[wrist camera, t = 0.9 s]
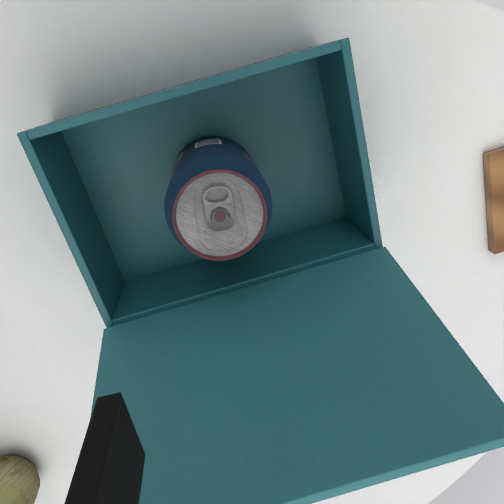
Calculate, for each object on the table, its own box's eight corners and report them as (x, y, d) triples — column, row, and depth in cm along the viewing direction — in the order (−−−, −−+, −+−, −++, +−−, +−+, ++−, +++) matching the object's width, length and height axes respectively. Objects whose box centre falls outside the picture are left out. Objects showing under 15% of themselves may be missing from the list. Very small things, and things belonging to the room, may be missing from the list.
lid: (67, 567, 21) (75, 574, 21) (526, 431, 21) (524, 441, 21) (103, 328, 34) (107, 335, 34) (385, 246, 34) (385, 254, 34)
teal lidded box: (51, 121, 36) (16, 133, 29) (319, 44, 36) (349, 37, 29) (122, 285, 41) (106, 329, 34) (351, 218, 42) (383, 248, 35)
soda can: (258, 208, 40) (282, 260, 28) (180, 220, 39) (174, 278, 28) (248, 128, 37) (270, 151, 26) (165, 140, 36) (150, 168, 25)
